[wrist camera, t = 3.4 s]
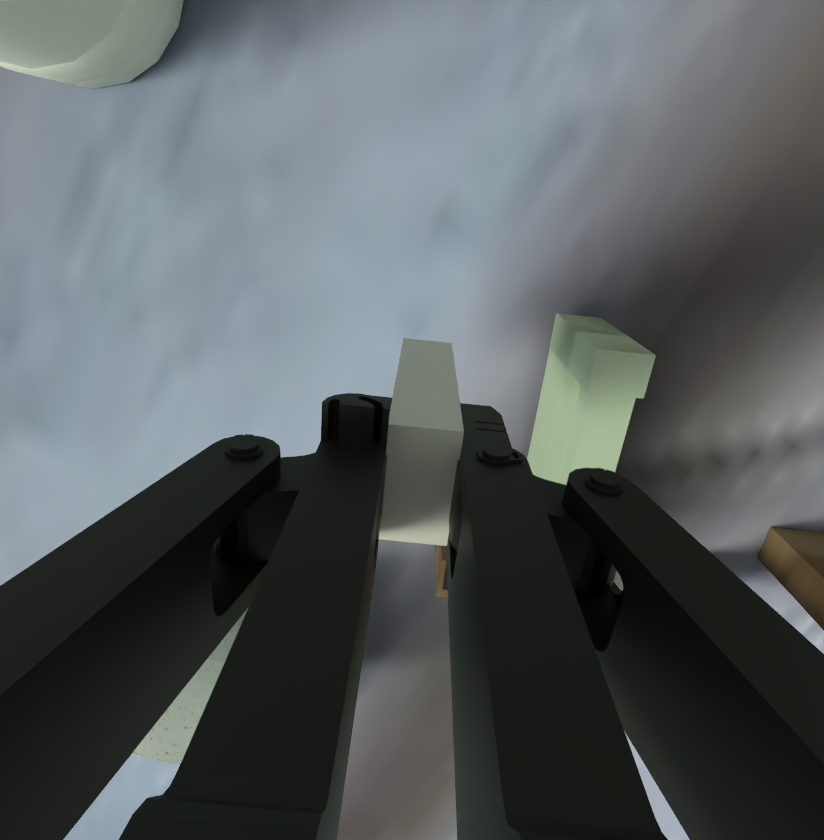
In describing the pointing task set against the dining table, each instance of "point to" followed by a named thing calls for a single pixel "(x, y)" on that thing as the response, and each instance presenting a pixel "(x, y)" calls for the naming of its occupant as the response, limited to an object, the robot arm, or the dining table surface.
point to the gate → (586, 397)
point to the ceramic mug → (186, 708)
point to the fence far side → (798, 566)
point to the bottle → (86, 38)
